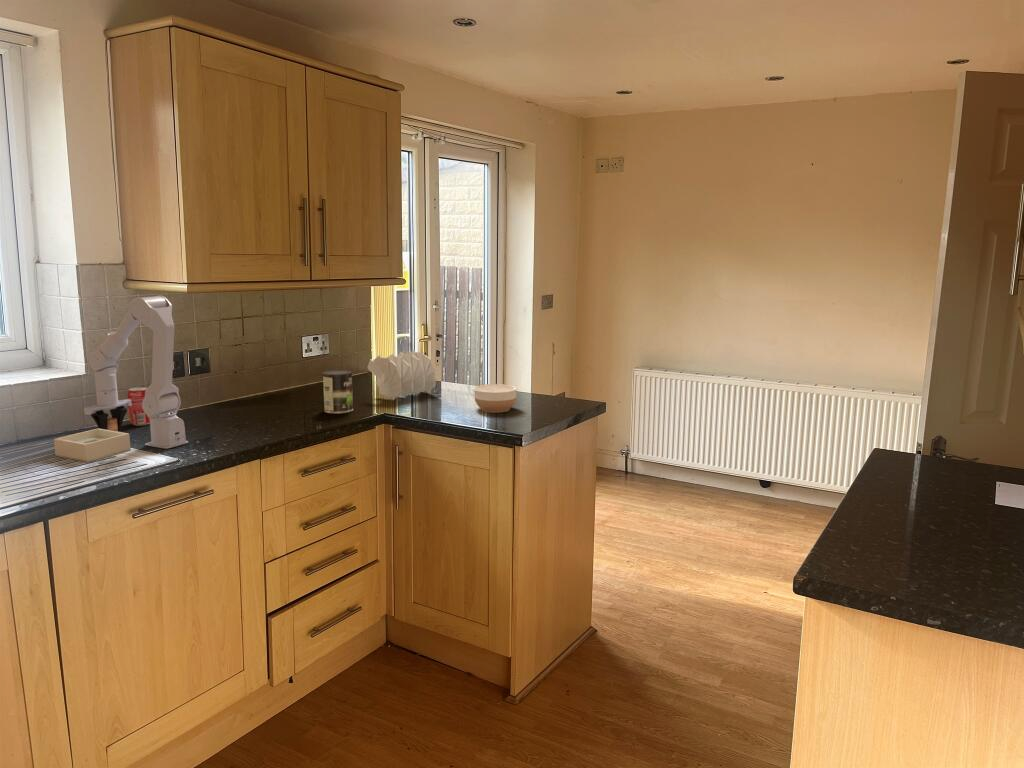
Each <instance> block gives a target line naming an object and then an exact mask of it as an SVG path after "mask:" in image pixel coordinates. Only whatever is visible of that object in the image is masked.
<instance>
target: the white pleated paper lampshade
mask: <svg viewBox="0 0 1024 768" xmlns="http://www.w3.org/2000/svg"><path fill="white" fill-rule="evenodd" d="M424 353H425V352H424V351H423V352H422V351H417V352H416V351H415V349H413V350H412V351H410V352H408V353H403V351H400V352H399V353H398V354H397V355H396V356H395V355H394V354H393V353H392V354H390V355H388V356H387V357H385V356H383V357H382V356H381V354H380V355H378V356H376V357H375V358H374V359H371V358H370V359H369V362H368V365H367V370H369V371H370V372H371V374H373V375H374V376H375V377H376V381H375V384H376V386H377V388H378V389H379V390H378V394H379V395H382V396H383V397H384V399H385V400H391V399H392V401H395V400H396V398H399V397H402V398H403V399H405V398H407V396H408V395H410V396H412V395H414V394H417V395H419V394H420V393H422V392H426V393H428V394H429V392H431V390H432V389H433V388H435V387H436V382H437V381H436V380H437V377H436V371H437V370H436V368H435V366H434V364H433V362H432V358H430V357H429V356H428V355H426V354H424Z"/></svg>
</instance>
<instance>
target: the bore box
mask: <svg viewBox="0 0 1024 768" xmlns="http://www.w3.org/2000/svg"><path fill="white" fill-rule="evenodd" d="M53 445H54V454H55V457H60V458H63V459H64V458H65V459H67V460H68V459H69V460H74V461H77V462H78V461H79V462H85V463H90V462H93V461H96V460H101V459H104V458H108V457H111V456H116V455H118V454H123V453H126V452H129V451H131V450H132V449H131V438H130V433H127V432H122V431H120V432H117V431H111V430H105V429H99V428H98V427H97V428H94V429H89V430H87V431H82V432H77V433H73V434H69V435H64V436H60V437H56V438H53Z"/></svg>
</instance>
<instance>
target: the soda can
mask: <svg viewBox="0 0 1024 768" xmlns="http://www.w3.org/2000/svg"><path fill="white" fill-rule="evenodd" d="M148 387H149V386H148ZM148 387H147V386H136V387H131V388H128V393H127V399H130V400H131V403H132V406H127V407H128V408H127V411H128V418H129V423H130V424H131V425H133V426H134V427H135V426H137V427H139V426H143V427H144V426H147V425H150V418H149V417H148V416H147V414H146V413H145V412H144V411H143V408H142V401H143V399H144V397H145V391H146V390H147V388H148Z"/></svg>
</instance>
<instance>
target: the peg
mask: <svg viewBox="0 0 1024 768" xmlns="http://www.w3.org/2000/svg"><path fill="white" fill-rule="evenodd" d="M107 430H111V431H117V432H118V424H117V418H112V417H108V419H107Z"/></svg>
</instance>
